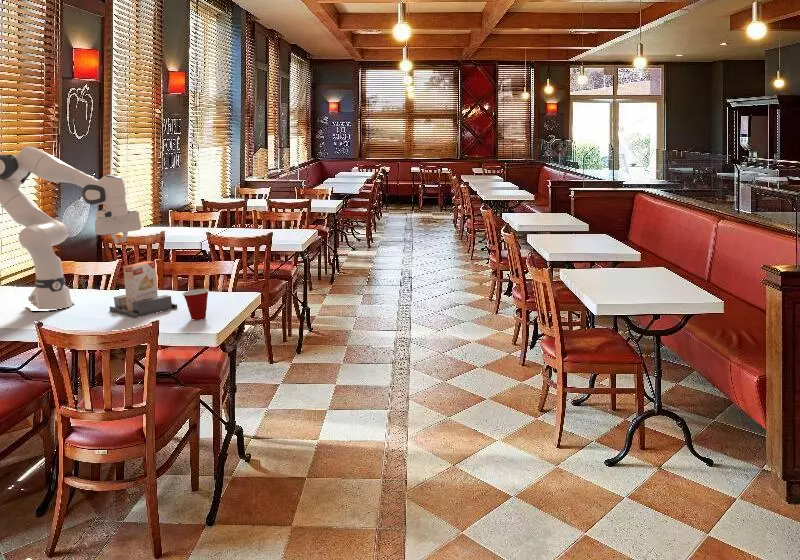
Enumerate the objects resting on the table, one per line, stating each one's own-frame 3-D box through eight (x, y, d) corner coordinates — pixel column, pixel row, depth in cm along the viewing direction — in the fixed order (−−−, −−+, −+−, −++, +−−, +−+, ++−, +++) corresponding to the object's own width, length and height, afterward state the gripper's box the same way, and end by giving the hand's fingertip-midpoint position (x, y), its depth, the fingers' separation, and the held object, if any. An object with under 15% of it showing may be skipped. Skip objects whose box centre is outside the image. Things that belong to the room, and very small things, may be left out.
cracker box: (138, 314, 312) (132, 266, 308) (127, 313, 314) (121, 266, 310) (159, 306, 325) (155, 261, 321) (149, 306, 327) (144, 260, 323)
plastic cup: (193, 314, 308) (191, 287, 306) (216, 315, 305) (213, 288, 303) (179, 321, 298) (176, 293, 296) (202, 322, 295) (199, 294, 293)
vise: (109, 311, 319) (108, 298, 318) (150, 302, 334) (149, 289, 333) (136, 318, 305) (134, 304, 304) (177, 308, 320) (176, 295, 319)
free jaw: (115, 310, 320) (113, 297, 319) (147, 303, 332) (146, 290, 331) (121, 311, 317) (119, 298, 316) (153, 304, 329) (152, 291, 328)
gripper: (134, 209, 330) (137, 239, 333) (91, 213, 315) (95, 245, 317) (142, 209, 326) (145, 240, 329) (98, 214, 311) (102, 246, 313)
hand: (120, 242), depth 323 cm, fingers closed
